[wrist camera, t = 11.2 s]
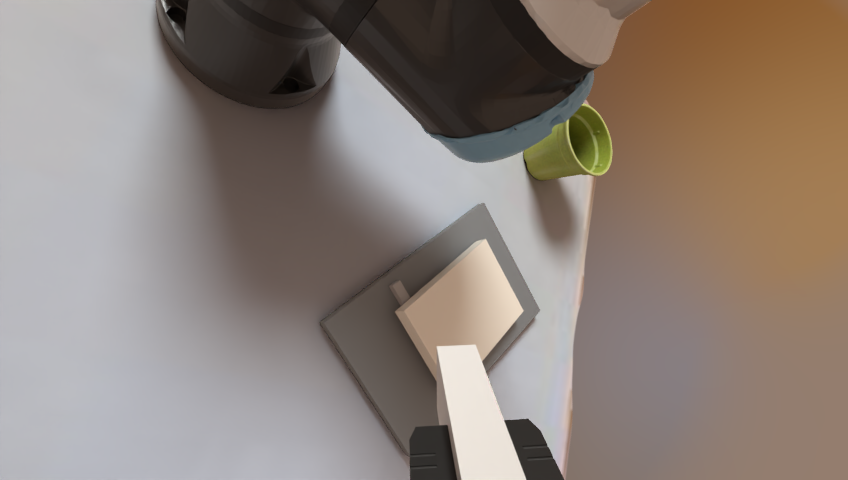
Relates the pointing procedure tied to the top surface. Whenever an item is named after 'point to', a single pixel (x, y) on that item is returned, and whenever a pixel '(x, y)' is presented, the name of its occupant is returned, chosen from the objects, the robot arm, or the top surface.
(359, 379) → the board
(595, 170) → the plant pot
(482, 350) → the tile
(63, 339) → the top surface
